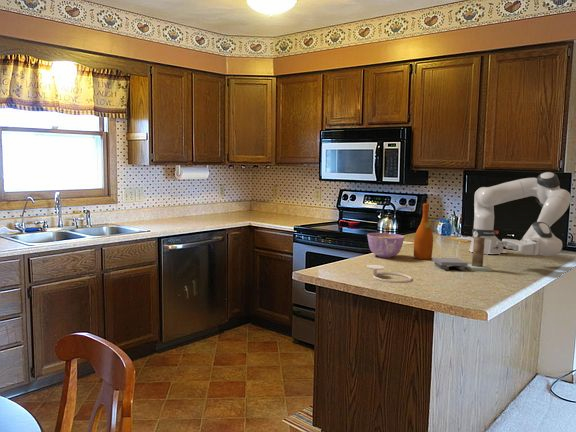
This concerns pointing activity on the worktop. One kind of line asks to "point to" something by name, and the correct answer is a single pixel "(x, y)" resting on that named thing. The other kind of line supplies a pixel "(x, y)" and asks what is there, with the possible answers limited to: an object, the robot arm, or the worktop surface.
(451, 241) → the worktop surface
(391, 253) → the bowl of food
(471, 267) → the board
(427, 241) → the wine bottle
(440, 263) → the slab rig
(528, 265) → the worktop surface
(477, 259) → the walnut roller
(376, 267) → the hand towel holder
